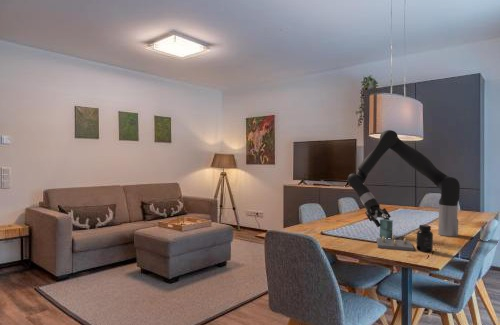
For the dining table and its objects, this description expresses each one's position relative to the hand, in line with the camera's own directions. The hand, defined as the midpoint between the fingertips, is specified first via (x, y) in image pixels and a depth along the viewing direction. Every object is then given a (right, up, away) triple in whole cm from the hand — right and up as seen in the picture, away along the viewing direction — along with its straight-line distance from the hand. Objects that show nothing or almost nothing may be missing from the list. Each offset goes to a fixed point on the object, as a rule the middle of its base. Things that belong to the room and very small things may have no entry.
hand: (385, 225), depth 187 cm
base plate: (-2, -7, -16) cm, 17 cm away
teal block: (0, -7, -1) cm, 7 cm away
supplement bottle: (+9, -8, -24) cm, 27 cm away
